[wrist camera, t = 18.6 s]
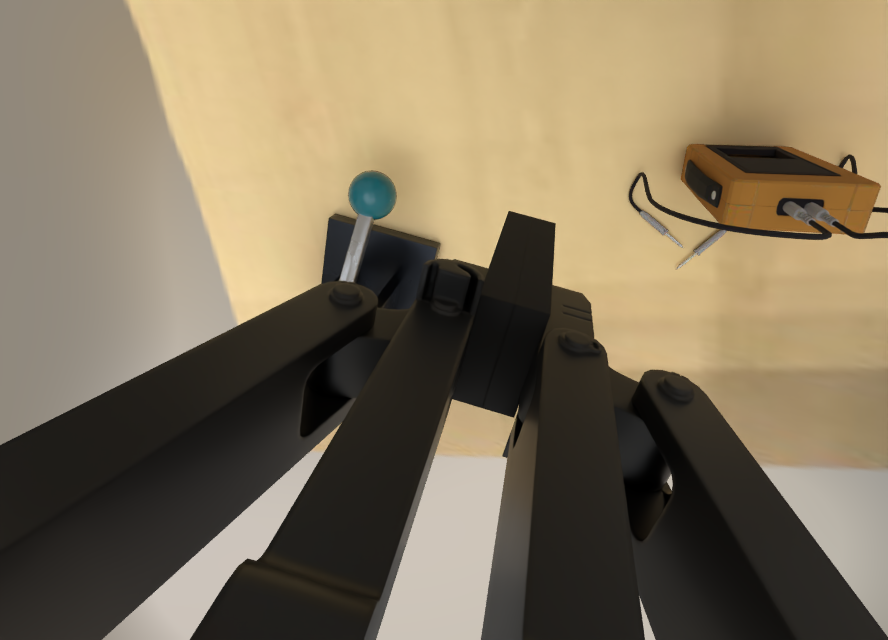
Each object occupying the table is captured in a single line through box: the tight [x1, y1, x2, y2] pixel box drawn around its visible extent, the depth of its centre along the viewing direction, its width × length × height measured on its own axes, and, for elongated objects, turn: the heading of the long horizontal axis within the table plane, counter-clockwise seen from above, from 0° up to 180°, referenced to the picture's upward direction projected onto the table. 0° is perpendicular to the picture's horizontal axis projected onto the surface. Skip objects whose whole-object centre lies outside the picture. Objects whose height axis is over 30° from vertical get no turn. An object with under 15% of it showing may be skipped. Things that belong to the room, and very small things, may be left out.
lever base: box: [321, 214, 440, 310], centre depth 45 cm, size 12×10×14 cm
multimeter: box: [629, 144, 888, 269], centre depth 33 cm, size 15×10×20 cm
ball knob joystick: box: [339, 171, 397, 283], centre depth 40 cm, size 15×4×4 cm, turn 168°
